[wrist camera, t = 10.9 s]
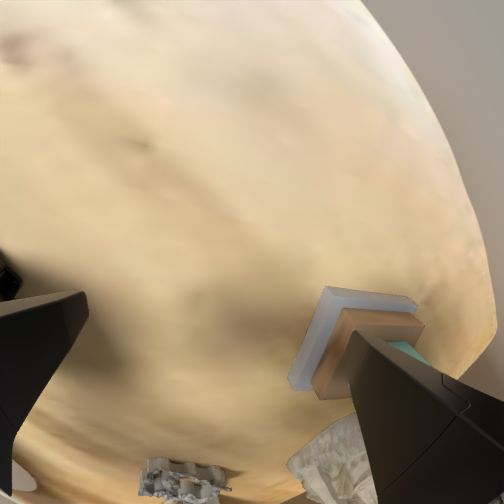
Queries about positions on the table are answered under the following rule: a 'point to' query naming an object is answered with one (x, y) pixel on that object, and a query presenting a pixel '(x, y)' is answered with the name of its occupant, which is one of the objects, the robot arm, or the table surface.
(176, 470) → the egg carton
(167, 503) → the coffee box
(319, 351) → the slate slab
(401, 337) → the walnut slab
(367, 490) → the grey jagged round piece
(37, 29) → the table surface
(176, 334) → the table surface
